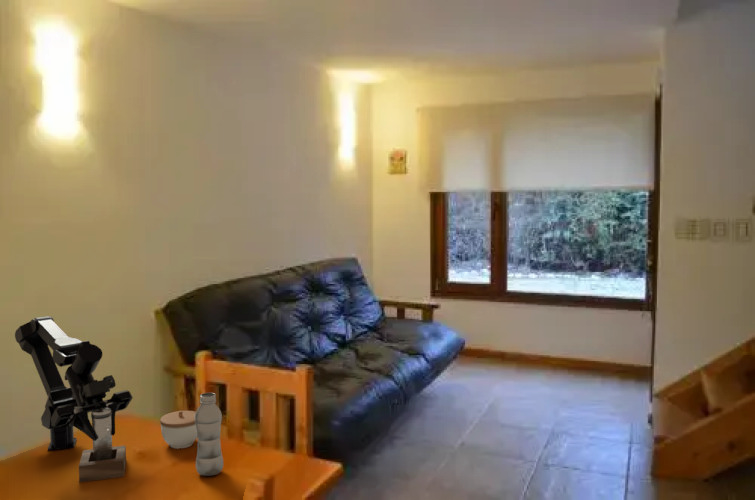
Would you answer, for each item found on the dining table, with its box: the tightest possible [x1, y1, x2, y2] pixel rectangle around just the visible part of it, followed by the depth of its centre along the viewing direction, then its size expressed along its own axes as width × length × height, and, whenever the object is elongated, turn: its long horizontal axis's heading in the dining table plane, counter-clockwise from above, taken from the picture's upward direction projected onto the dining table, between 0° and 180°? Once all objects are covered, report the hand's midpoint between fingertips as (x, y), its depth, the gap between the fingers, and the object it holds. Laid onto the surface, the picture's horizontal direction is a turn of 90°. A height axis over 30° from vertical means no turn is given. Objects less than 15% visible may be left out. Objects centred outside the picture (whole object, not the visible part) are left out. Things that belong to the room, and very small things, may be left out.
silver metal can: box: [90, 408, 113, 461], centre depth 159 cm, size 5×5×13 cm
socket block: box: [78, 444, 127, 483], centre depth 160 cm, size 10×10×4 cm
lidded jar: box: [159, 410, 198, 450], centre depth 177 cm, size 11×11×9 cm
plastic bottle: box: [194, 392, 224, 477], centre depth 158 cm, size 6×7×20 cm
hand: (104, 437), depth 159 cm, fingers closed on silver metal can, 4 cm apart
